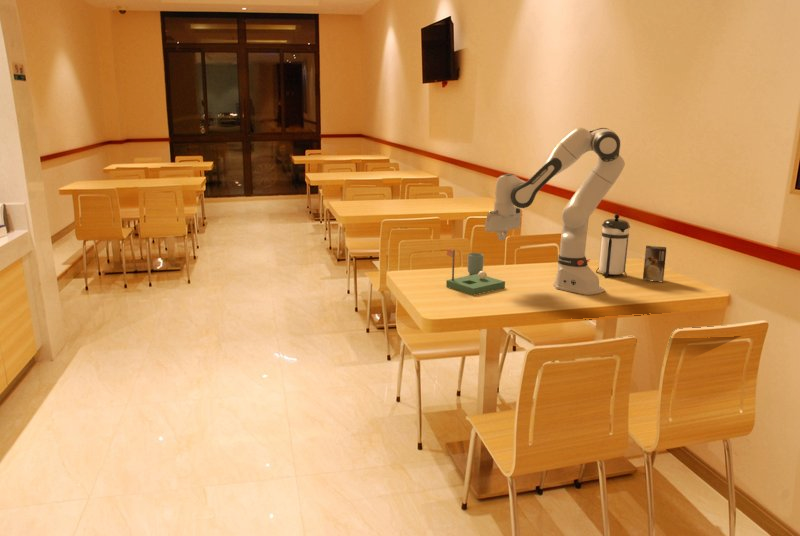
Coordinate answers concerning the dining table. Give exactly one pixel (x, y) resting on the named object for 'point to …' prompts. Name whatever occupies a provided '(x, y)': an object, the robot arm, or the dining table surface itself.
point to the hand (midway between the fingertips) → (501, 239)
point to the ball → (482, 275)
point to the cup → (475, 263)
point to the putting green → (472, 281)
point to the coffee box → (654, 263)
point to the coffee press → (614, 246)
